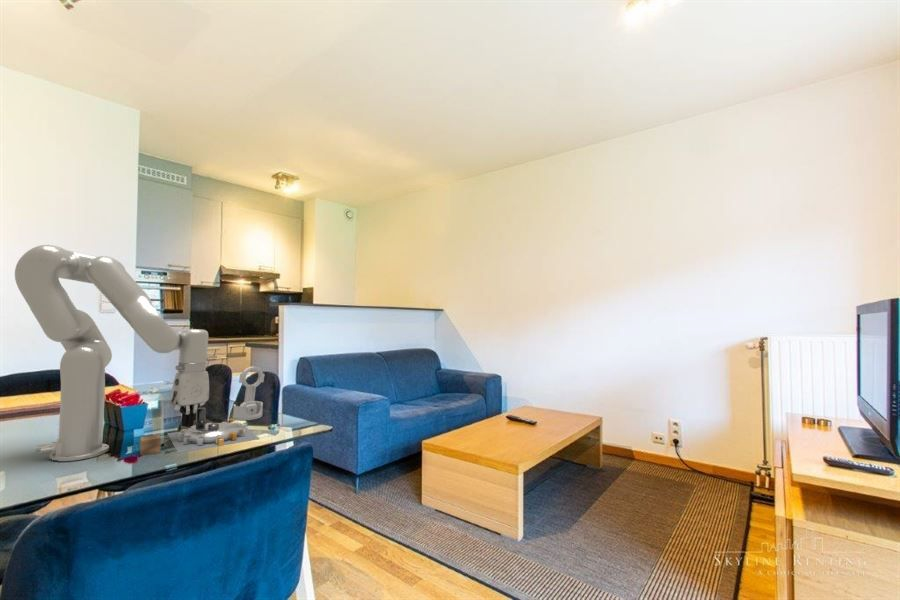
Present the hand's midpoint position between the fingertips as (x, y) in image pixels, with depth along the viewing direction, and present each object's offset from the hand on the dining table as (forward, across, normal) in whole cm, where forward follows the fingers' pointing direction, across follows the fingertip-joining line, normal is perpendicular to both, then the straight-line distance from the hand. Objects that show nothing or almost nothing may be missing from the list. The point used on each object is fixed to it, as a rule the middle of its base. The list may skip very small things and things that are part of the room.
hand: (187, 425), depth 132 cm
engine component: (+5, +28, +3) cm, 29 cm away
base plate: (+5, +4, -6) cm, 9 cm away
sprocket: (+3, +4, -7) cm, 8 cm away
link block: (+5, -14, -3) cm, 15 cm away
